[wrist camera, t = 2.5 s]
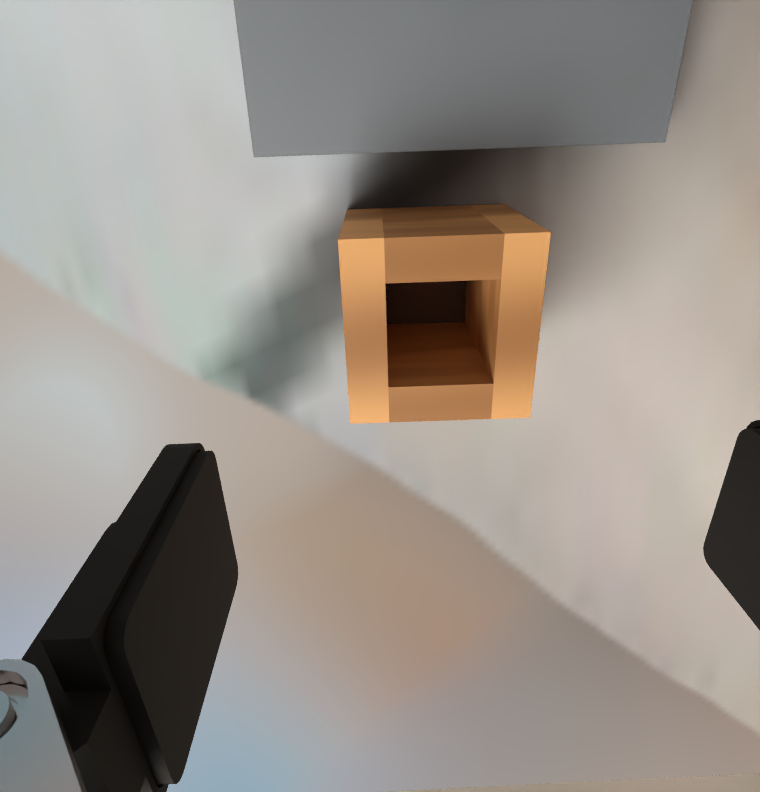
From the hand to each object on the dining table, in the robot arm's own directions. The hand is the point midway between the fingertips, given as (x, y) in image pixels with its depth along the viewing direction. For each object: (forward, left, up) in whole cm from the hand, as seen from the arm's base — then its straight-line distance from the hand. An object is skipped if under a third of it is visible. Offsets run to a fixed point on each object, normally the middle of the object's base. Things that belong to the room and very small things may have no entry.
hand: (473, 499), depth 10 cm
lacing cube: (0, 0, -14) cm, 14 cm away
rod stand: (-10, +1, -14) cm, 17 cm away
